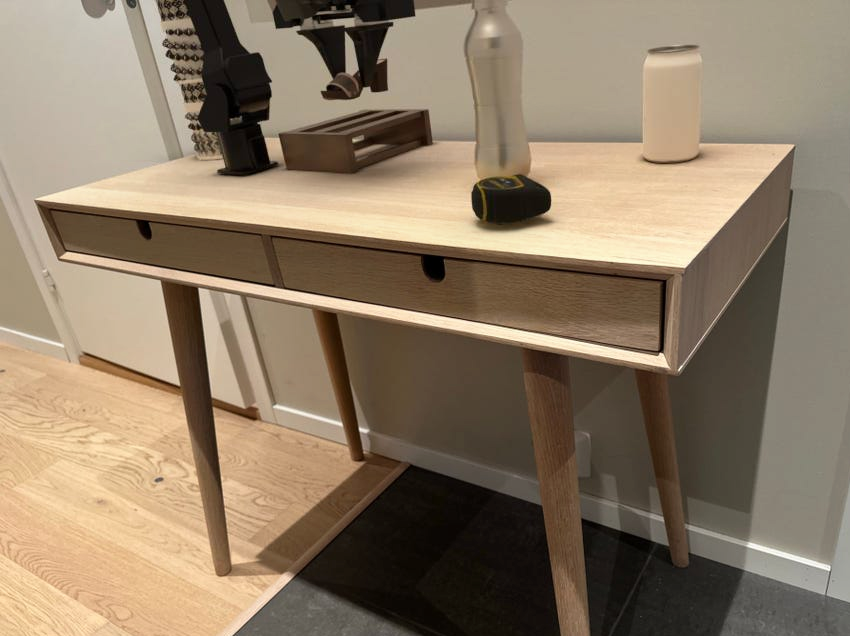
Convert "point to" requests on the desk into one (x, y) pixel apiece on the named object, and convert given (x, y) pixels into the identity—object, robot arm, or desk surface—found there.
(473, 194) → the tape measure
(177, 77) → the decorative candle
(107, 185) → the desk surface
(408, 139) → the shoe rack
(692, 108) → the can
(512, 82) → the plastic bottle
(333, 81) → the heeled mule
